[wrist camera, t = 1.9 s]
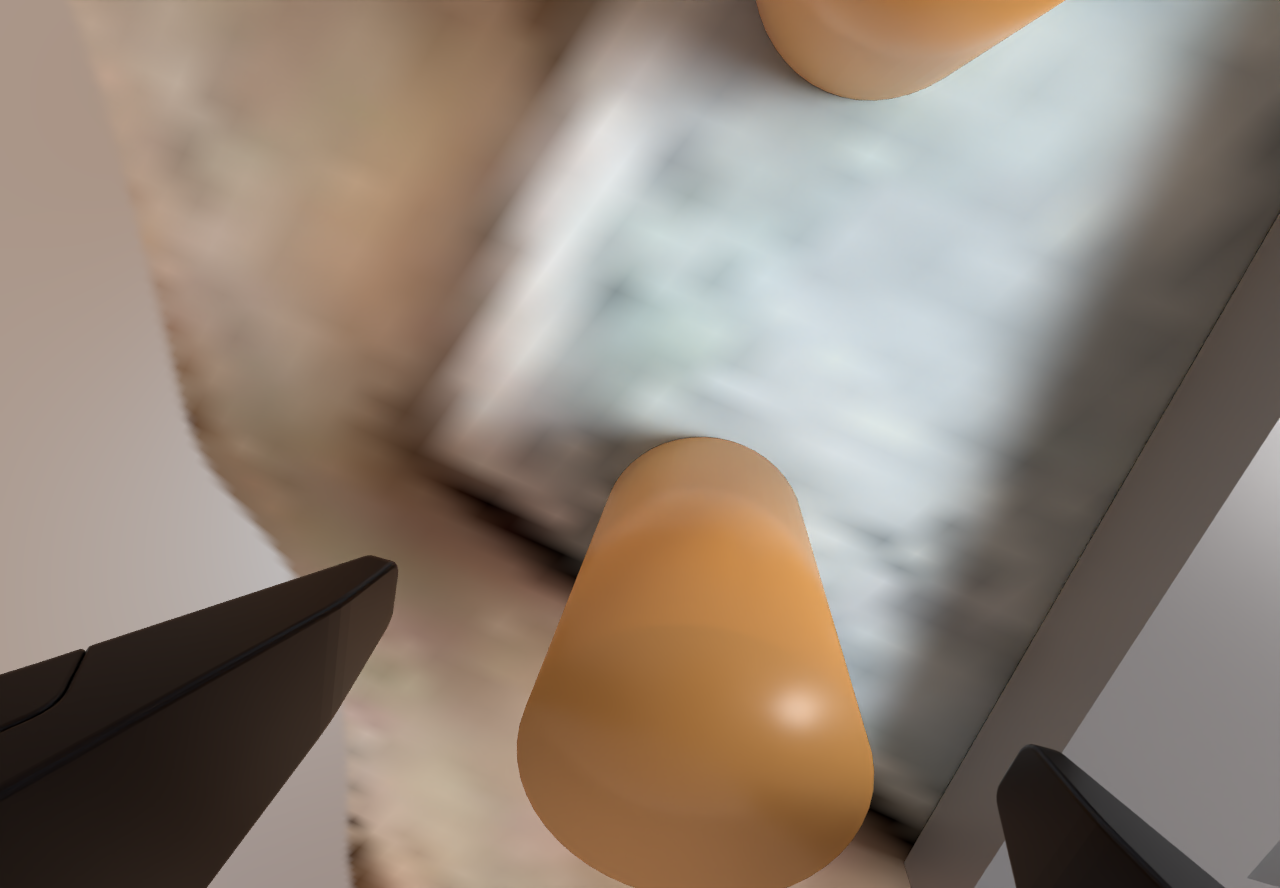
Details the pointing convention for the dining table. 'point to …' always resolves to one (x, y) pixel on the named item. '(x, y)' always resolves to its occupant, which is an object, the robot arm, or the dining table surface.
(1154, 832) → the robot arm
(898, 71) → the orange rounded plug
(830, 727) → the orange tapered peg
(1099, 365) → the dining table surface
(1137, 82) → the dining table surface
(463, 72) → the dining table surface
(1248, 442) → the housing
